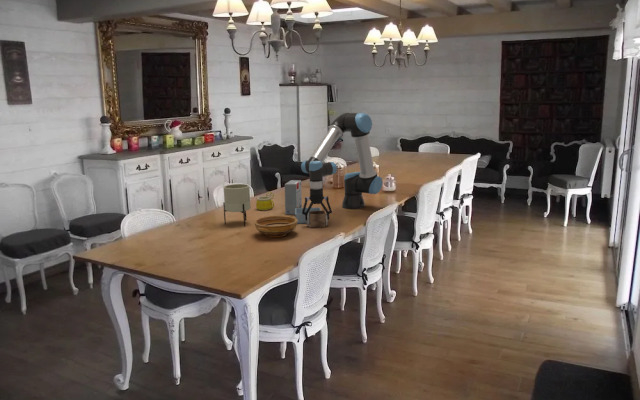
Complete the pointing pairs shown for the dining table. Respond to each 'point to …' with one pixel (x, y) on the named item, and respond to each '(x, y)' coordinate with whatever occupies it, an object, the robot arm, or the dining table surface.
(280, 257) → the dining table surface
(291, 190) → the hard drive box
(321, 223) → the walnut crate
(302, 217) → the grey crate
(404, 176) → the dining table surface
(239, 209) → the planter
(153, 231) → the dining table surface
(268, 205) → the mug
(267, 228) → the tan woven oval bowl
